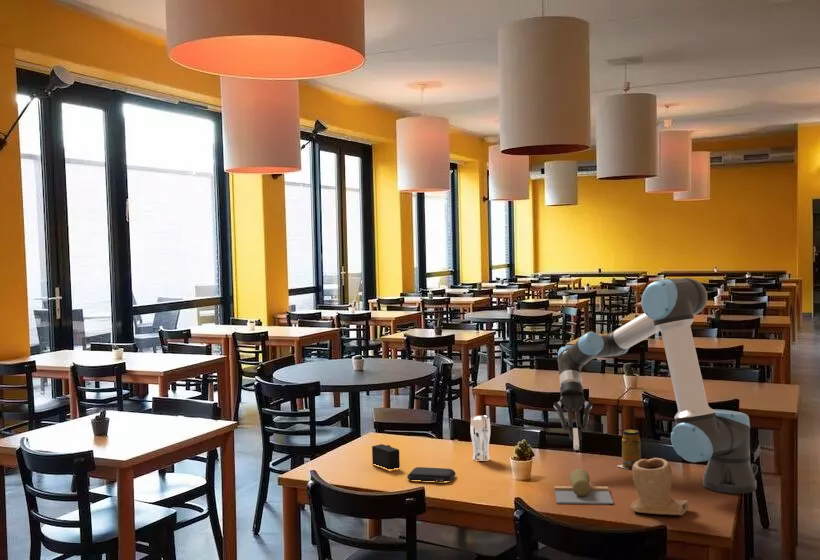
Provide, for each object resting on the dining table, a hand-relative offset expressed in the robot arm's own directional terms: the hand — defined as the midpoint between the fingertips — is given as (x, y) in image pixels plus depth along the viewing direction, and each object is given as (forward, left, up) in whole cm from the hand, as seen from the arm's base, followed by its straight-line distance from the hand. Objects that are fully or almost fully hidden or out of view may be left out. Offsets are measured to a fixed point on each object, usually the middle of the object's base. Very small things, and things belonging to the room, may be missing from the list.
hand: (576, 447), depth 253 cm
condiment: (+3, -23, -10) cm, 26 cm away
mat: (-17, +9, -10) cm, 22 cm away
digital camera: (+38, +51, -10) cm, 65 cm away
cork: (-10, +5, -7) cm, 13 cm away
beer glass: (+33, +19, -10) cm, 39 cm away
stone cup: (-38, -2, -10) cm, 40 cm away
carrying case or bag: (+18, +43, -10) cm, 48 cm away
